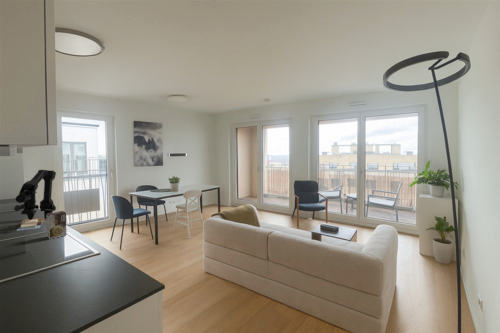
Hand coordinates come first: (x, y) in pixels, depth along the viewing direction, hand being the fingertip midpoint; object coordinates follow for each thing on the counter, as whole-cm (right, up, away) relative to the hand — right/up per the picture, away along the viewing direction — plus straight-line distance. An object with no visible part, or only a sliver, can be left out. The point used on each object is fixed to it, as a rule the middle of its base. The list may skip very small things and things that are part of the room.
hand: (30, 221), depth 174 cm
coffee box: (+34, -7, -18) cm, 39 cm away
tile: (+1, -2, -2) cm, 3 cm away
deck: (-3, -4, +5) cm, 7 cm away
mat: (+2, -4, -4) cm, 6 cm away
